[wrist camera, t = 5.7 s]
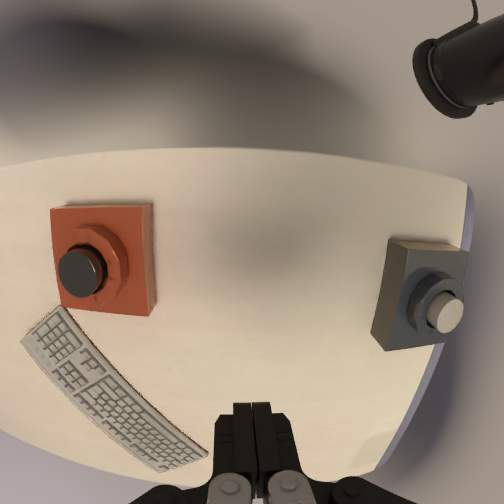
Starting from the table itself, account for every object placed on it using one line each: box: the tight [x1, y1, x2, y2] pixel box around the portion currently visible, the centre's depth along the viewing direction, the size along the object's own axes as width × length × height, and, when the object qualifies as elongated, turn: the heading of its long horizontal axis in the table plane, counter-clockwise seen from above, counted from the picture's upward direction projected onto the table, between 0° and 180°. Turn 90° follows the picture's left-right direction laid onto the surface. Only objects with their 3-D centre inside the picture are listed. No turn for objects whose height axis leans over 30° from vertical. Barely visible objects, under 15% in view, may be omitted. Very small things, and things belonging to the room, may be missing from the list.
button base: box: [50, 204, 156, 317], centre depth 24 cm, size 10×10×5 cm
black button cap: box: [58, 245, 106, 298], centre depth 21 cm, size 4×4×2 cm
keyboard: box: [20, 305, 208, 473], centre depth 30 cm, size 29×10×2 cm, turn 32°
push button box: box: [371, 240, 469, 351], centre depth 26 cm, size 11×9×6 cm
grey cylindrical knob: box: [426, 292, 463, 333], centre depth 23 cm, size 4×4×2 cm
